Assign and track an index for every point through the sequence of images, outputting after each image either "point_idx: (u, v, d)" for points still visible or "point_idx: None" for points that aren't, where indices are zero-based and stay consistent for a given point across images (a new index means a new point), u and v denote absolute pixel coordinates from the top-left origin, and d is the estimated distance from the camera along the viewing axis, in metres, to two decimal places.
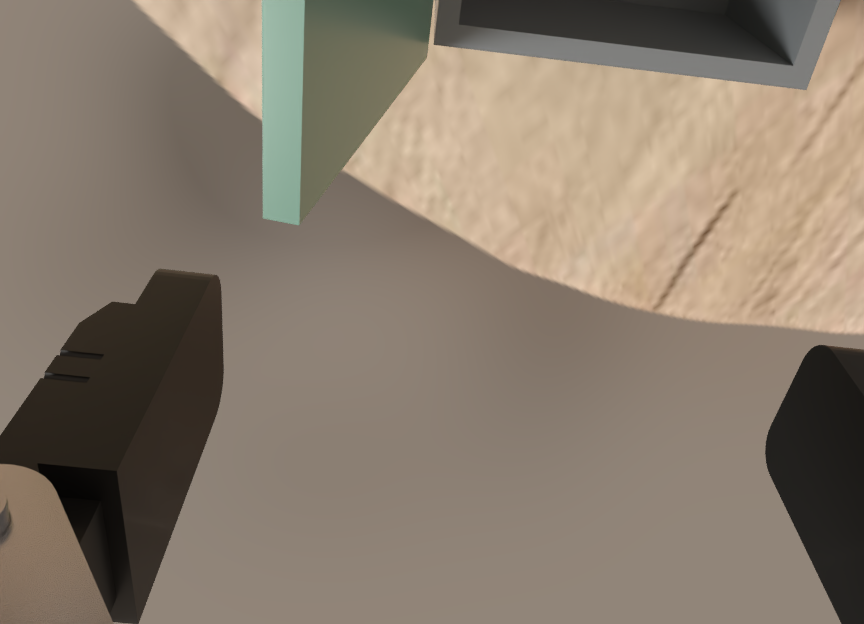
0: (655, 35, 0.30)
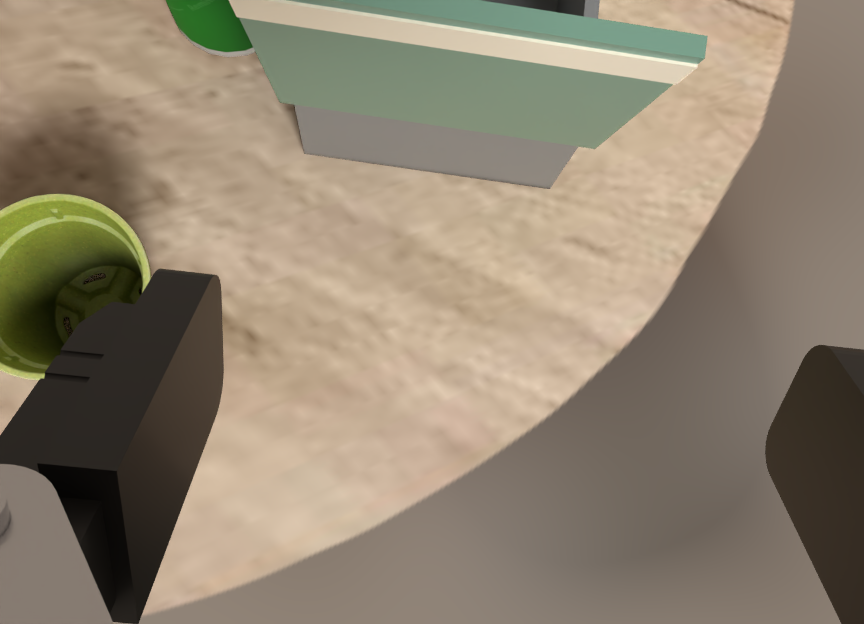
0: (575, 10, 0.45)
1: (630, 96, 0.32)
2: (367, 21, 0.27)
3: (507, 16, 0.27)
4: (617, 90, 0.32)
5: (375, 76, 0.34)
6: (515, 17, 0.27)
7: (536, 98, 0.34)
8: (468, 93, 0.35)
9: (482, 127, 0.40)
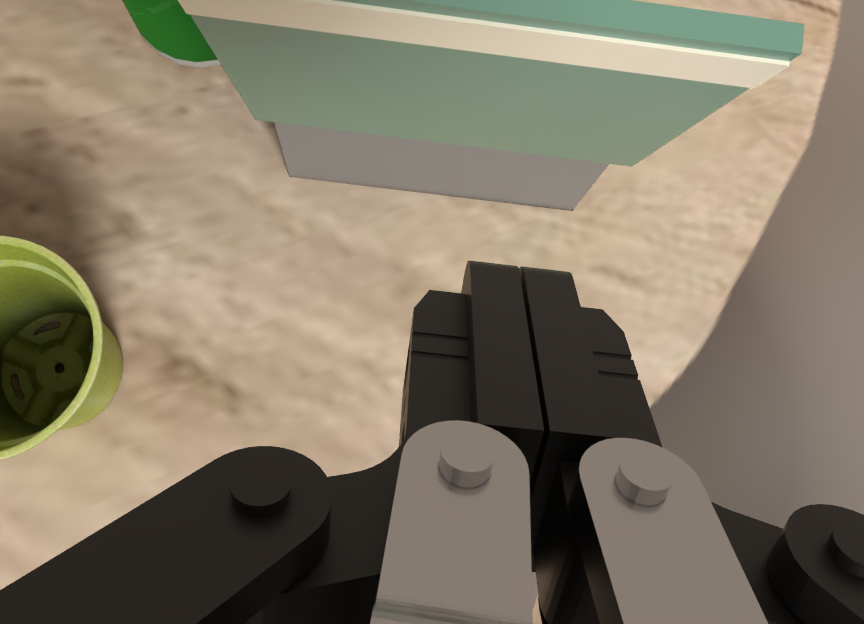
0: None
1: (688, 104, 0.26)
2: (355, 14, 0.21)
3: (540, 3, 0.20)
4: (673, 97, 0.25)
5: (368, 85, 0.27)
6: (551, 4, 0.20)
7: (569, 109, 0.27)
8: (484, 104, 0.28)
9: (498, 143, 0.33)
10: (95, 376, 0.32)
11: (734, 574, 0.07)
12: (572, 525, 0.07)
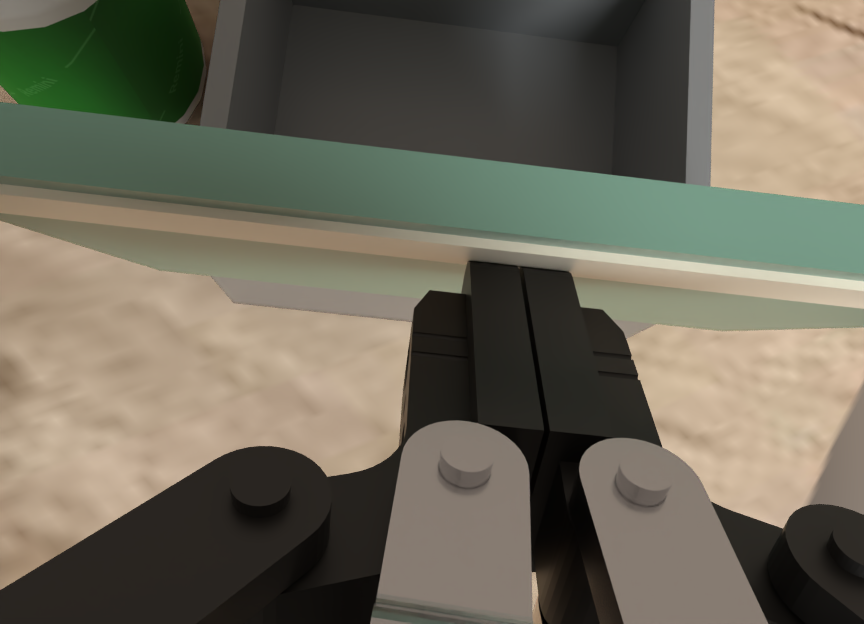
0: (664, 76, 0.28)
1: None
2: (254, 227, 0.10)
3: (667, 216, 0.09)
4: (863, 314, 0.14)
5: (316, 268, 0.16)
6: (691, 219, 0.09)
7: (657, 304, 0.16)
8: None
9: None
10: None
11: (734, 574, 0.07)
12: (572, 525, 0.07)
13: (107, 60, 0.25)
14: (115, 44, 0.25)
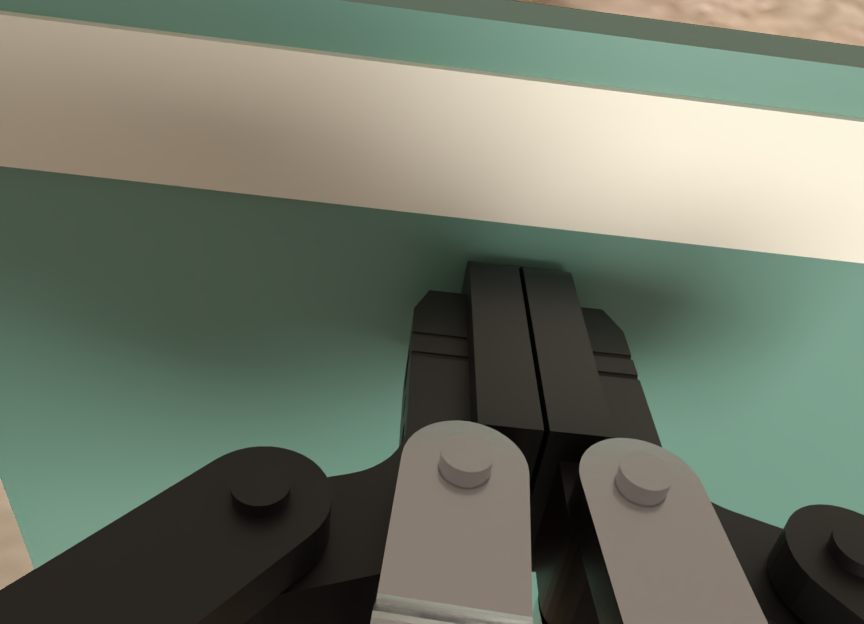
0: None
1: None
2: (256, 85, 0.09)
3: (666, 34, 0.09)
4: None
5: (278, 434, 0.13)
6: (689, 36, 0.09)
7: None
8: None
9: None
10: None
11: (734, 574, 0.07)
12: (572, 525, 0.07)
13: None
14: None
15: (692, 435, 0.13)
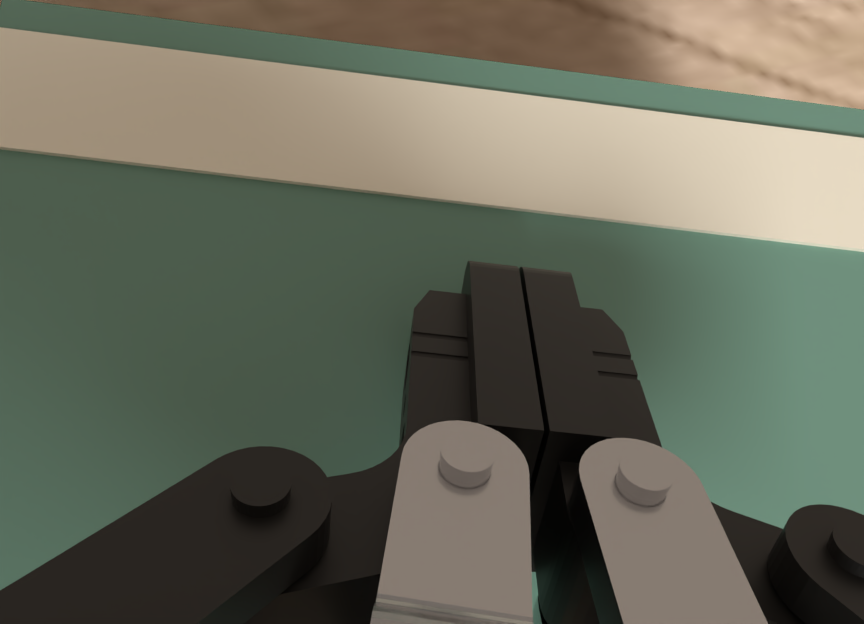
0: None
1: None
2: (296, 91, 0.12)
3: None
4: None
5: None
6: None
7: None
8: None
9: None
10: None
11: (734, 574, 0.07)
12: (572, 525, 0.07)
13: None
14: None
15: (723, 475, 0.12)
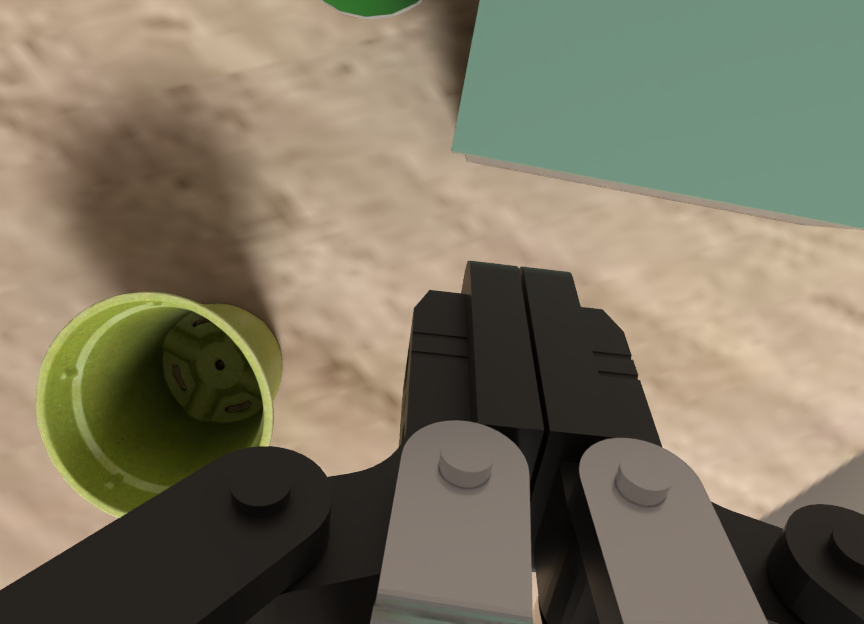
0: None
1: None
2: None
3: None
4: None
5: None
6: None
7: (861, 5, 0.25)
8: (765, 11, 0.25)
9: (766, 177, 0.26)
10: None
11: (734, 574, 0.07)
12: (572, 525, 0.07)
13: None
14: None
15: None
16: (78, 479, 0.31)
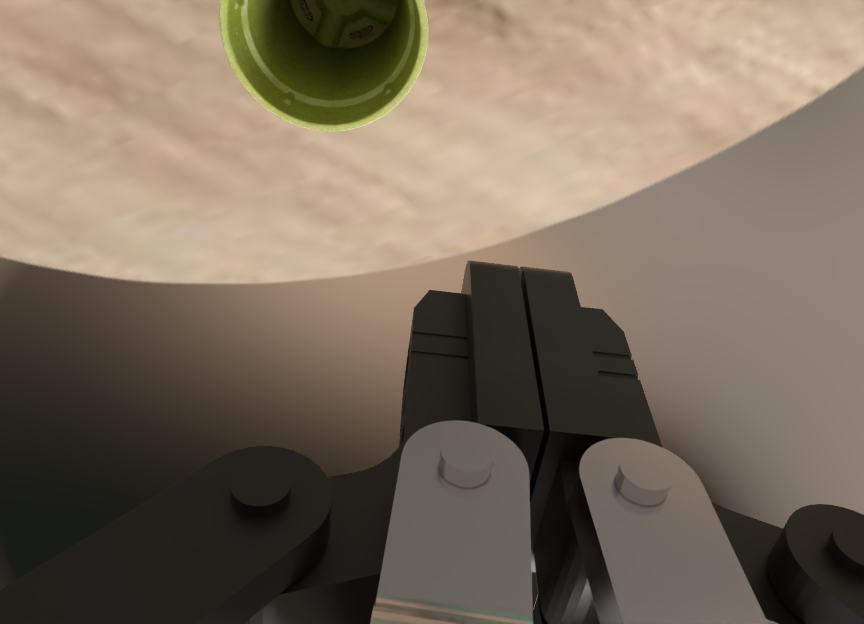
0: None
1: None
2: None
3: None
4: None
5: None
6: None
7: None
8: None
9: None
10: (423, 60, 0.36)
11: (734, 574, 0.07)
12: (572, 525, 0.07)
13: None
14: None
15: None
16: (265, 97, 0.37)
